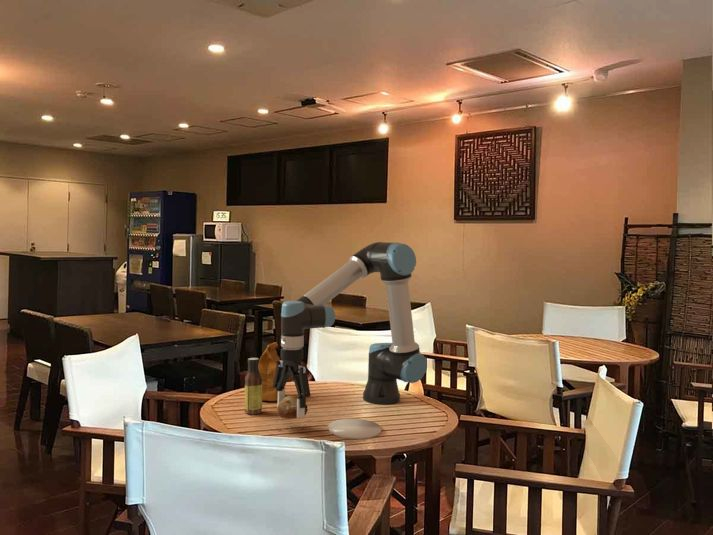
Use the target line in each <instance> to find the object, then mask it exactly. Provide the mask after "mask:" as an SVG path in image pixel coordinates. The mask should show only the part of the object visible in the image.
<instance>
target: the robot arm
mask: <svg viewBox="0 0 713 535" xmlns="http://www.w3.org/2000/svg"><path fill="white" fill-rule="evenodd" d="M416 256H417V255H416V254H415V251H414V249H412V247H411V246H410V245H409V244H406V243H401V242H389V241H388V242H386V241H385V242H383V241H377V242H376V241H375V242H373V243H371V244H369V245H366V246H365V247H363V248H361V249H360V250H358V251H356V252H355V253H354V254H353V255H351V256H350V257H349V258H348V262H346V263H345V264H343V265H342V266H341V267H340V268H338V269H337V270H336V271H334V272H333V273H331V274H330V275H329V276H327V277H326V278H324V279H323V280H322V281H321V282H320V283H318V284H316V285H315V286H314V287H313V288H311V289H310V290H309V291H307V292H306V293H305V294H303V295H302V296H300V297H299V298H297V299H296V300H287V301H283V303H282V304H281V313H280V317H281V318H280V322H281V325H280V329H281V330H280V331H281V332H280V335H281V336H280V346H281V349H280V361H277V368H276V373H275V378H274V383H273V387H274V388H276V390H277V400H276V401H277V403H276V404H277V405H276V406H277V407H276V409H277V408H278V405H279V403H280V402H281V400H282V399H283V398H285V397H286V384H287V382H288V380H289V377H291V379H292V380H293V383H294V386H295V389H296V392H297V395H298V396H297V397H298V398H297V418H296V419H301V418H304V417H305V416H306V415H305V406H306V405H307V403H306V402H307V401H306V400H307V398H309V397H311V391H310V390H311V388H310V383H309V376H308V366H302V363H301V361H302V360H303V359H304V349H303V348H304V347H305V346H304V342H305V341H304V340H305V338H304V336H305V330H310V329H320V328H323V329H325V328H328V327H331V326H333V325H334V323H335V321H336V312H335V309H334V308H333V307H332V306H331V305H327V303H329V302H330V301H332V300H333V299H334V298H336V297H337V296H338V295H339V294H341V293H342V292H343V291H345V290H346V289H347V288H349V287H350V286H351V285H352V284H354V283H355V282H357V281H358V280H359V279H360V278H362V279H363V278H366V277H368V276H369V275H371V274H373V273H379V274H380V280H381V282H382V283H383V284H385V291H386V299H387V307H388V315H389V316H388V318H389V325H390V326H389V327H390V332H391V341H392V342H377V343H372V344H370V346H369V348H368V366H367V368H368V370H367V371H368V372H367V381H366V384H365V388H364V391H363V392H362V399H363V401H365V402H367V403H370V404H378V405H390V404H391V405H392V404H396V403H397V404H398V403H399V402H400V401H401V393H400V390H399V386H398V382H397V380H399V381H402V382H404V383H409V384H410V383H411V384H413V383H417V382H419V381H420V380H422V379H423V377H424V375H425V374H426V372H427V369H428V360H427V358H426V355H425V356H424V354H422V353H421V350H420V349H421V348H420V344H418V343H417V342H416V340H415V331H414V324H413V323H414V322H413V313H412V306H411V296H410V286H409V281H410V279H412V273H413V272H414V271H415V267H416V266H417V257H416ZM277 383H278V384H277ZM305 404H306V405H305Z"/></svg>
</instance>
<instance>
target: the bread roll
mask: <svg viewBox="0 0 713 535" xmlns="http://www.w3.org/2000/svg"><path fill="white" fill-rule="evenodd" d="M298 397H299V396H294V395H288V396H285V398H283V399H282V400H281V402H280V403H279V405H278V408H277V407H276V413H277V415H278V417H279V418H282V419H286V420H287V419H288V420H291V419H298V418H297V398H298ZM305 405H306V406H305V416H306V415H307V413H308V411H309V409H308V405H307V403H306V404H305Z"/></svg>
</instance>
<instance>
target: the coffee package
mask: <svg viewBox="0 0 713 535" xmlns="http://www.w3.org/2000/svg"><path fill="white" fill-rule="evenodd" d="M278 346H279V344H278V343H277V341H275V342H272V343H269V344H267V347H266V348H265V350H264V352H263V353H262V354H261V356H260V358H259V363H258V364H259V365H258V369H259V373H260V376H261V380H262V402H276V401H278V400H277V390H276V388H274V387H273V383H274V378H275V373H276V368H277V361H280V360H281V357H280V356H279V355H278V353H277V352H278V351H277V349H276V348H277V347H278ZM277 384H278V383H277Z"/></svg>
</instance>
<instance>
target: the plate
mask: <svg viewBox="0 0 713 535" xmlns="http://www.w3.org/2000/svg"><path fill="white" fill-rule="evenodd" d="M328 430H329V431H328ZM327 431H328V433H329V432H331V433H332V434H334V435H333V436H335V435H336V436H335V437H337V436H338V438H341V439H347V440H349V439H350V440H366V439H367V440H368V439H373V438H376V437H378V436H379V435H381V434H382V426H381V425H380V424H378V423H377V422H374V421H371V420H367V419H361V418H342V419H341V418H340V419H337V420H334V421H331V422H329V424H328V425H327ZM331 433H330V434H331ZM332 434H331V435H332Z"/></svg>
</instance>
